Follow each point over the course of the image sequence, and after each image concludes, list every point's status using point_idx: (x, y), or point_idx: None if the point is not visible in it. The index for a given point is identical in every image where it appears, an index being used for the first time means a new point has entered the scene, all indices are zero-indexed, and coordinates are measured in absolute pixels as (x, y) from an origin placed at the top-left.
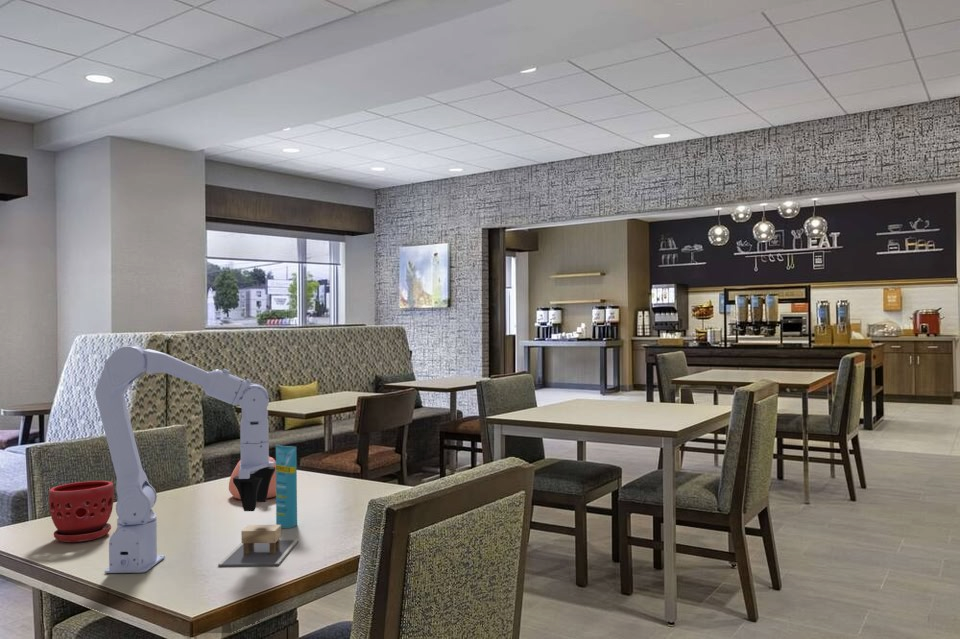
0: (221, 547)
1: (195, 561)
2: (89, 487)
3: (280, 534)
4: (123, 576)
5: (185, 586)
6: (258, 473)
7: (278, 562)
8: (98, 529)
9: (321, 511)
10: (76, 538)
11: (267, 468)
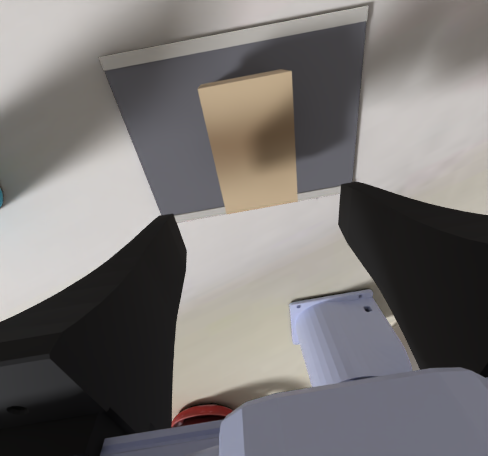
0: (212, 249)
1: (308, 249)
2: None
3: (210, 83)
4: (378, 304)
5: (466, 189)
6: (143, 388)
7: (359, 9)
8: (207, 418)
9: None
10: None
11: (68, 403)
